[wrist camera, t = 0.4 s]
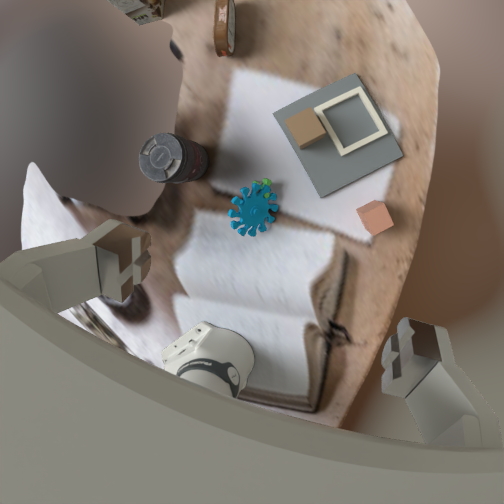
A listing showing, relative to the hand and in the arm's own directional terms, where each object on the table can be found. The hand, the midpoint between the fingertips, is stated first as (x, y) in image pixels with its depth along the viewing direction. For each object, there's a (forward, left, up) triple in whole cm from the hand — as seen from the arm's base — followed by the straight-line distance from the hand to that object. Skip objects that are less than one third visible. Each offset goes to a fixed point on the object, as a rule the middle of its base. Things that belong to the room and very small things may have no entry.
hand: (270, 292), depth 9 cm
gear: (-8, +3, -50) cm, 51 cm away
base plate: (+12, +8, -50) cm, 52 cm away
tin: (+5, +38, -50) cm, 63 cm away
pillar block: (+10, -8, -50) cm, 52 cm away
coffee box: (-6, +57, -50) cm, 76 cm away
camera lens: (-15, +17, -50) cm, 55 cm away
